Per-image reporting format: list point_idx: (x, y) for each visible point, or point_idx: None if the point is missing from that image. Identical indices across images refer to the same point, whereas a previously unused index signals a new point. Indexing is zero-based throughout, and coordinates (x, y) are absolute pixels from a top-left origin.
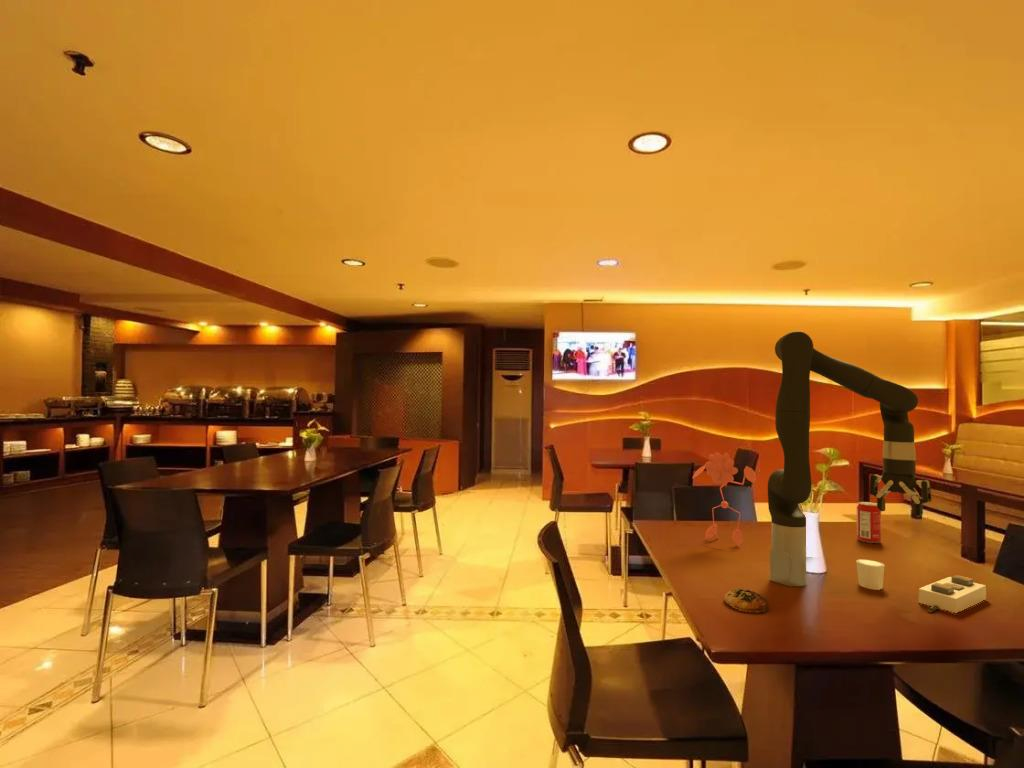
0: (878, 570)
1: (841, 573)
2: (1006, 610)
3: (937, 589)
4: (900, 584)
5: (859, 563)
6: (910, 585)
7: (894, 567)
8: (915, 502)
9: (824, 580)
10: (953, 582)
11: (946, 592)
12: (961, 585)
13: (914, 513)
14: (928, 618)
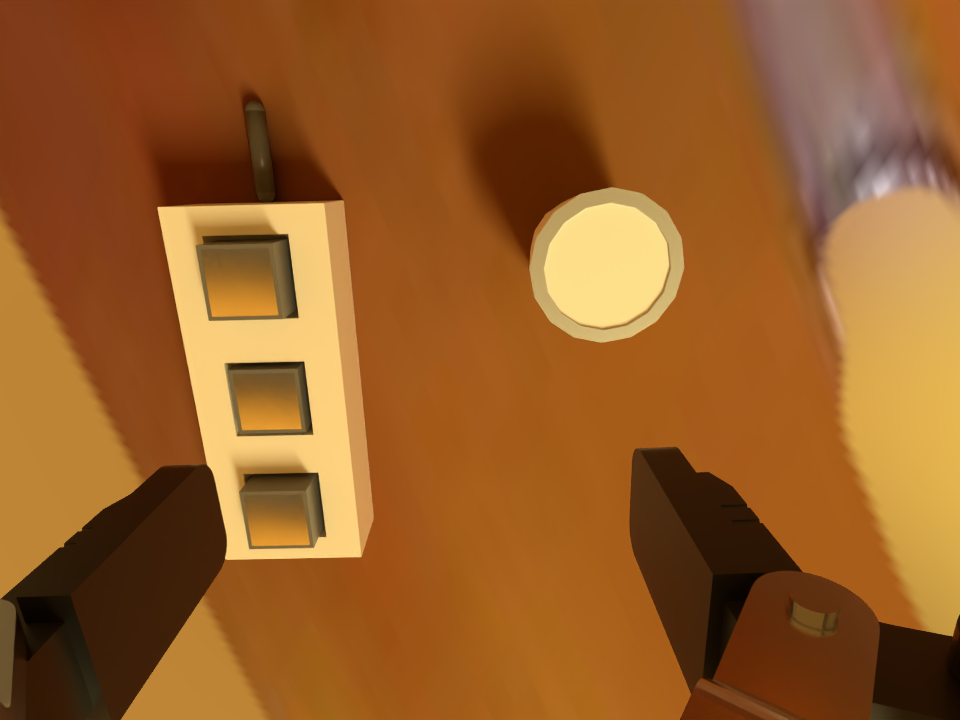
0: (540, 230)
1: (752, 322)
2: (157, 461)
3: (250, 242)
4: (516, 414)
5: (643, 195)
6: (487, 440)
7: (638, 634)
8: (4, 612)
9: (763, 104)
10: (305, 477)
11: (211, 242)
12: (266, 463)
13: (174, 480)
14: (214, 8)
